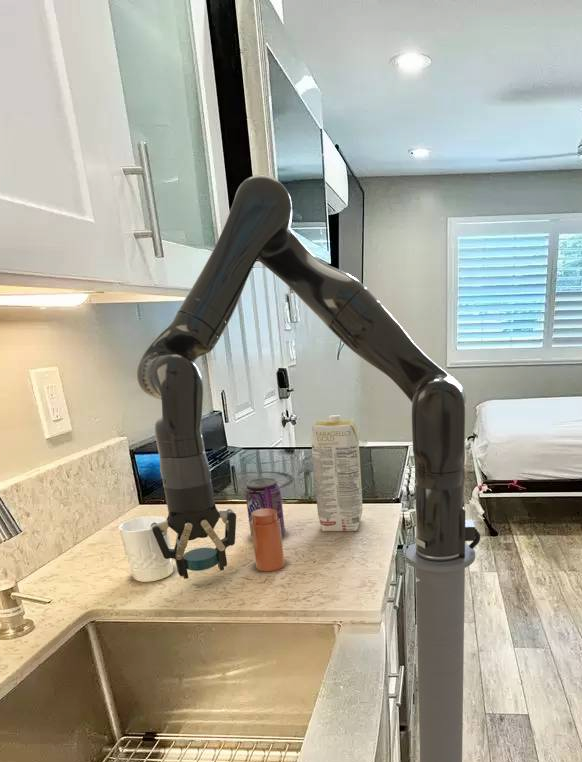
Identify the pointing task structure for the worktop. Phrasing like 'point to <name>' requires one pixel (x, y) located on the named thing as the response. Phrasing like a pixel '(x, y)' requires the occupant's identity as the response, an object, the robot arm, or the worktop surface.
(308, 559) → the worktop surface
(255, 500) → the beverage can
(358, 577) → the worktop surface
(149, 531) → the white cup
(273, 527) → the jam jar
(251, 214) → the robot arm
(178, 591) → the worktop surface
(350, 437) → the juice carton
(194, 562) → the jar lid
